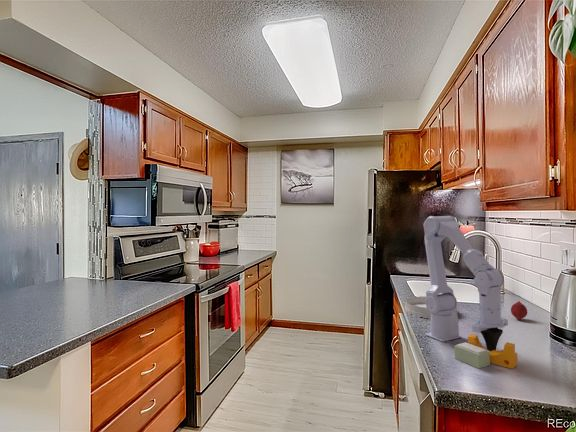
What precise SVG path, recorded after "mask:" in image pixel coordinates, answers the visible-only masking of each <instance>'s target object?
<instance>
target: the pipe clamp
mask: <svg viewBox="0 0 576 432" xmlns="http://www.w3.org/2000/svg"><path fill="white" fill-rule="evenodd" d="M467 343H469V344H472V345H475V346H477V347H480V348H483V349H486V350H487V347H486V348H485V347H484V346H483V345H482V343H481V342H480V339H479V335H477V334H473V333H471V334H469V335H468V336H467ZM487 351H489V350H487ZM489 352H490V364H493V365H497V366H501V367H505V368H507V369H511V370H513V369H514V368H515V367H516V366H517V365H518V352H516V344H515V343H512V342H506V343H505V344H504V345H503V349H501V350H497V349H496V350H492V351H489Z"/></svg>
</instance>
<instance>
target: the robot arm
mask: <svg viewBox="0 0 576 432" xmlns="http://www.w3.org/2000/svg"><path fill="white" fill-rule="evenodd" d="M422 225H423V232H424V246H425V253H426V260H427V266H428V272H429V273H428V274H429V280H430V287H429V288H427V290H426V291H425V297H426V301H425V302H426V307H427V309H428V310H429V312H431V319H430V332H426V333H424V334H425V336H428V337H430V338H432V339H435V340H437V341H440V342H448V341H451V340H452V341H453V340H455V339H460V338H462V336H461V335H460V334H459V333H460V330H459V329H460V327H459V325H460V323H459V317H458V314H457V315H456V313H454V311H453V310H454V309H455V308H456V307H457V308H458V300H457V297H456V296H455V294H454V290H453V288H452V287H450V286H449V285H448V281H447V277H446V276H447V275H446V269H445V263H444V256H443V248H442V243H441V242H443V240H444V239H445V238H448V239H449V240H451V242H452V243H453V244H454V245H455V246H456V248H457V249H458V250H459V251H460V252H461V254H462V261H463V262H464V263H465V264H466V266H467V267H468V269H469V270H470V272H471V273H472V274H473V276H475V277H474V278H473V280H474V284H475V285H476V287H477V292H478V296H479V297H478V299H479V300H478V301H479V320H478V321H476V323H474V324H472V325H471V327H472V328H471V329H472V332H475V333H480V334H481V336H482V337H483V340H484V342H485V346H486V349H487V350H489V351H492V350H496V351H497V346H498V342H499V340H500V338H501V336H502V334H503V333H504V331H503V330H504V329H503V328H505V327H507V326H509V320H508V318H503V317H502V312H501V309H502V307H501V306H502V305H501V286H503V285H504V283H505V278H504V274H503V272H502V270H500V269H499V268H495V267H494V266H493V265H492V264H490V262H489V261H488V260H487V259H486V257H485V256H484V252H482V251H480V250H478V249H474V248H473V247H472V245H471V244H470V243H469V241H468V239H467V238H466V236H465V234H463V232H462V230H461V229H460V223H459V221H457V220H456V218H455V217H454V216H452V215H443V216H441V215H439V216H434V215H430V216H428V217H427V218H426V219H425V220H424V222H423V224H422Z"/></svg>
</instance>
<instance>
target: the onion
mask: <svg viewBox="0 0 576 432" xmlns="http://www.w3.org/2000/svg"><path fill="white" fill-rule="evenodd" d="M510 313H511V315H512V316H513V317H514V318H516V319H517V320H518V321H519V320H522V319H524V318H526V317H527V316H528V309H527V306H525V305H524V304H523V303H522V302H521V301H520V300H519V299H518V300H517V302H515V303H513V304H512V305H511V308H510Z"/></svg>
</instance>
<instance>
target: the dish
mask: <svg viewBox="0 0 576 432" xmlns="http://www.w3.org/2000/svg"><path fill="white" fill-rule="evenodd" d="M425 301H426V296H411V297H407V298H406V299H405V305H404V312H405V311H406V312H408V313H410V314H412V315H415V316H419V317H423V318H422V319H424V318H428V319H427V320H431V312H429V310H428V309H427V307H426V302H425ZM453 311H454V313H456V315H457V316H458V306H457V307H456V308H455V309H454V310H453ZM406 312H405V313H406ZM412 315H411V316H412ZM419 317H418V318H419Z"/></svg>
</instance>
